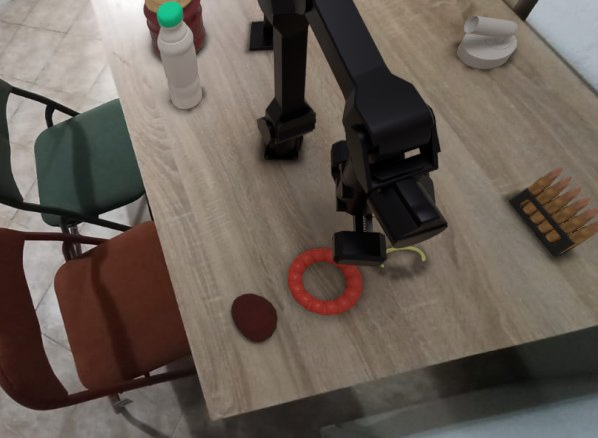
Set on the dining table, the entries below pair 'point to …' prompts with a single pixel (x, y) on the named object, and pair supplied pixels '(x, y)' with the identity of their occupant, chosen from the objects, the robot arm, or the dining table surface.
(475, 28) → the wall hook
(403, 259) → the dining table surface
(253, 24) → the black angled piece
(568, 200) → the ammunition clip
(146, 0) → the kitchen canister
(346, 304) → the red ring
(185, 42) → the water bottle
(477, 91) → the dining table surface
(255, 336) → the potato
